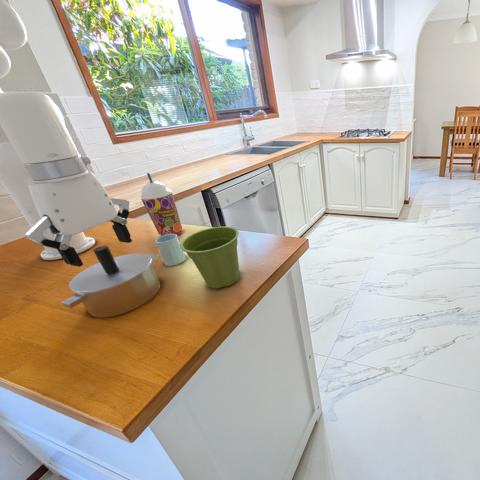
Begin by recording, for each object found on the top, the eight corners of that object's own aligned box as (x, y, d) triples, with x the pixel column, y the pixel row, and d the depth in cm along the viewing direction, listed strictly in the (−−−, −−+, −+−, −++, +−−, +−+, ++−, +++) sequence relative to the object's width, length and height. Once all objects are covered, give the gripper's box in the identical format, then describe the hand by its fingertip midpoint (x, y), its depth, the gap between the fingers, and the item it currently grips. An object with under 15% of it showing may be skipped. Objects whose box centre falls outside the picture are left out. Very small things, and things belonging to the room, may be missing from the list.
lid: (55, 289, 59) (36, 262, 56) (124, 254, 70) (112, 230, 67) (101, 301, 54) (84, 272, 51) (167, 261, 66) (156, 235, 63)
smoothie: (173, 240, 89) (148, 177, 80) (151, 239, 91) (123, 177, 82) (191, 228, 97) (170, 169, 87) (170, 228, 98) (147, 169, 89)
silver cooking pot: (59, 319, 59) (41, 294, 56) (143, 269, 75) (133, 248, 72) (102, 332, 55) (85, 306, 52) (182, 277, 70) (173, 254, 67)
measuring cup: (160, 264, 77) (150, 241, 73) (176, 255, 81) (167, 232, 78) (174, 267, 75) (164, 243, 72) (189, 257, 79) (181, 234, 76)
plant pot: (186, 297, 63) (168, 252, 58) (211, 267, 74) (197, 227, 68) (239, 295, 63) (225, 250, 57) (256, 265, 73) (246, 225, 68)
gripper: (96, 159, 60) (130, 233, 68) (-20, 183, 46) (41, 273, 54) (120, 158, 57) (153, 235, 65) (5, 184, 43) (66, 279, 51)
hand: (103, 252), depth 59 cm, fingers open, 9 cm apart
